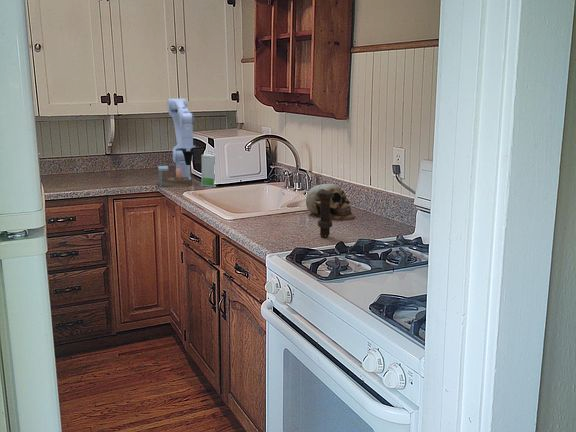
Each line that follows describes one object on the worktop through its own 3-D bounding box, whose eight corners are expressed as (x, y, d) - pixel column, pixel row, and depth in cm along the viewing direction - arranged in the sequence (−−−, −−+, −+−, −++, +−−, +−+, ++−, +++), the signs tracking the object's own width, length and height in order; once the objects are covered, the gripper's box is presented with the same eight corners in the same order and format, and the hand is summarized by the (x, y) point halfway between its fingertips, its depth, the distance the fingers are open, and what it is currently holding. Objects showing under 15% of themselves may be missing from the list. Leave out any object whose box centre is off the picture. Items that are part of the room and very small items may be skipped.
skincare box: (201, 186, 298) (200, 154, 294) (208, 184, 303) (208, 153, 300) (215, 187, 294) (214, 155, 291) (222, 185, 300) (222, 154, 296)
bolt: (313, 237, 196) (314, 192, 193) (318, 234, 200) (319, 190, 197) (331, 239, 194) (331, 193, 191) (335, 235, 198) (336, 191, 195)
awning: (159, 183, 305) (158, 166, 303) (168, 183, 306) (167, 165, 304) (159, 187, 295) (158, 168, 293) (169, 186, 296) (168, 168, 294)
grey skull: (356, 219, 223) (352, 183, 220) (310, 224, 222) (306, 189, 220) (349, 212, 238) (346, 179, 236) (306, 217, 238) (303, 184, 235)
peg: (175, 184, 303) (175, 168, 301) (181, 184, 304) (181, 168, 302) (176, 185, 300) (175, 169, 298) (182, 185, 301) (182, 169, 299)
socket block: (162, 183, 305) (162, 177, 304) (188, 182, 308) (188, 177, 307) (162, 186, 296) (162, 180, 295) (189, 185, 298) (189, 179, 298)
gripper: (196, 138, 295) (196, 165, 298) (194, 135, 309) (195, 162, 311) (181, 138, 293) (182, 166, 296) (180, 136, 307) (181, 162, 310)
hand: (188, 164), depth 304 cm, fingers open, 7 cm apart
